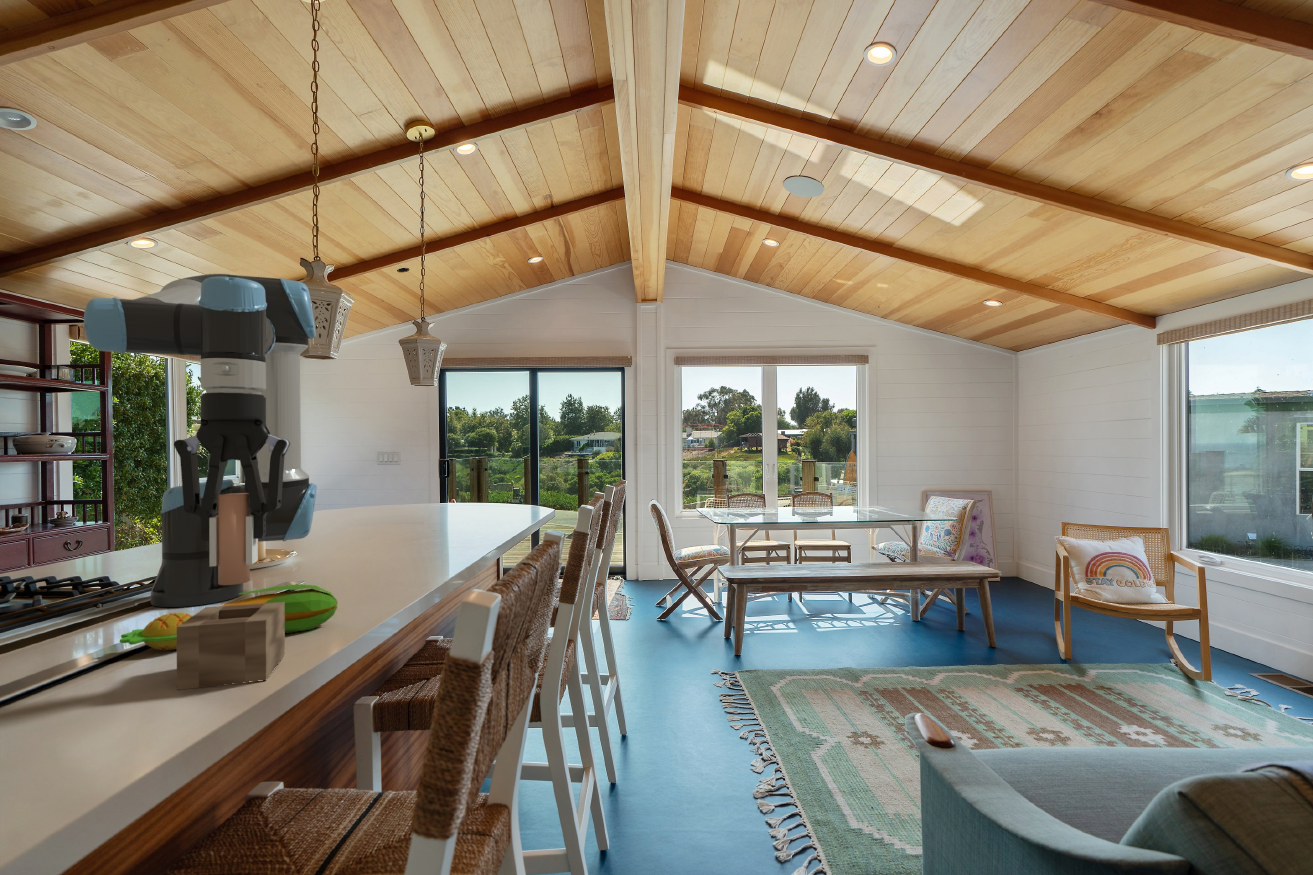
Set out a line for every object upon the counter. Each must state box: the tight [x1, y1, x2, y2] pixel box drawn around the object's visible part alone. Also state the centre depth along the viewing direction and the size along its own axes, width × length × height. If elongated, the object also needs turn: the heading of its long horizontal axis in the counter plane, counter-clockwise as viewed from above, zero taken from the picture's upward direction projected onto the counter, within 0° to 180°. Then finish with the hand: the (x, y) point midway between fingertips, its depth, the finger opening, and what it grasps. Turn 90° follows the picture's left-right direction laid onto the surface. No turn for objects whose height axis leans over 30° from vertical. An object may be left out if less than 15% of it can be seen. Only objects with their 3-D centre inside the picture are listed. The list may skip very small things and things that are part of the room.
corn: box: [217, 583, 338, 634], centre depth 106 cm, size 7×8×20 cm
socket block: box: [176, 602, 286, 691], centre depth 88 cm, size 10×10×8 cm
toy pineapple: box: [119, 612, 193, 651], centre depth 97 cm, size 7×10×5 cm
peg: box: [218, 493, 251, 585], centre depth 88 cm, size 4×4×12 cm
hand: (234, 563), depth 88 cm, fingers closed on peg, 3 cm apart
